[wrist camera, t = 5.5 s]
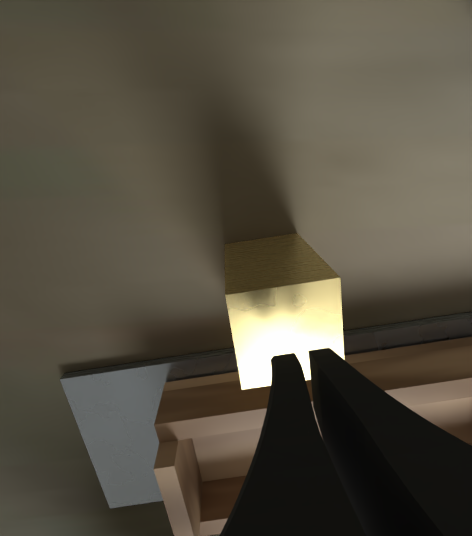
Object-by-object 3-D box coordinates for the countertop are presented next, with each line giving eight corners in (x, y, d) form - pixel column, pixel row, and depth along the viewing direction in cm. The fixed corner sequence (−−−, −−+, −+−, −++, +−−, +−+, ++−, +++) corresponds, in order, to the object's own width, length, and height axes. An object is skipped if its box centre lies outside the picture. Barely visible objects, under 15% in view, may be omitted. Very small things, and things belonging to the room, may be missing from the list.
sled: (482, 443, 22) (549, 516, 18) (192, 485, 22) (184, 568, 18) (496, 332, 19) (580, 386, 15) (165, 382, 20) (147, 449, 15)
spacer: (302, 299, 19) (345, 374, 13) (235, 309, 19) (241, 389, 13) (296, 232, 18) (340, 277, 11) (224, 244, 18) (225, 295, 11)
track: (513, 441, 23) (554, 481, 20) (112, 499, 24) (97, 546, 21) (536, 302, 20) (589, 326, 17) (64, 373, 20) (38, 408, 17)
